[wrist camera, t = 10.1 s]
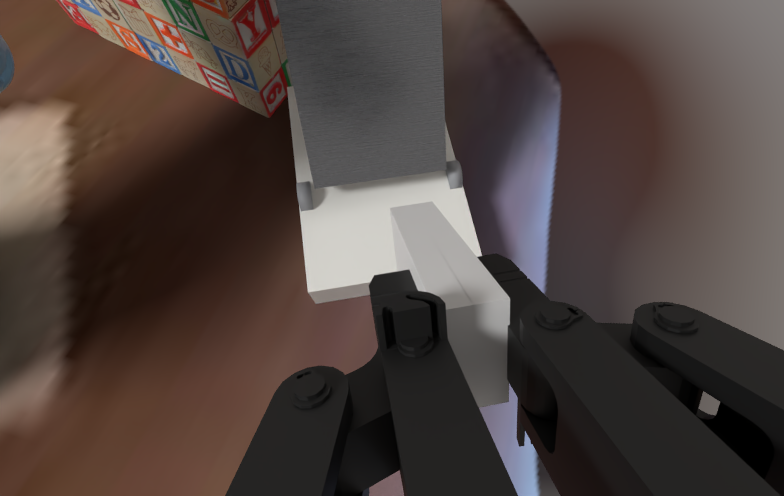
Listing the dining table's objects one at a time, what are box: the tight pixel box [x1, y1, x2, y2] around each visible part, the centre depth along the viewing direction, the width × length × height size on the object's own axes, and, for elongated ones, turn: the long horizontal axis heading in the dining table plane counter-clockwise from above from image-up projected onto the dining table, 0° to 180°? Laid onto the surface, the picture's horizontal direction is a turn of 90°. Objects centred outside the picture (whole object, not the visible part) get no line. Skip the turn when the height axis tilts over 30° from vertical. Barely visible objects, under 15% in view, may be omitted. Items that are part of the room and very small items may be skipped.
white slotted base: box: [287, 86, 482, 304], centre depth 27 cm, size 16×11×7 cm
